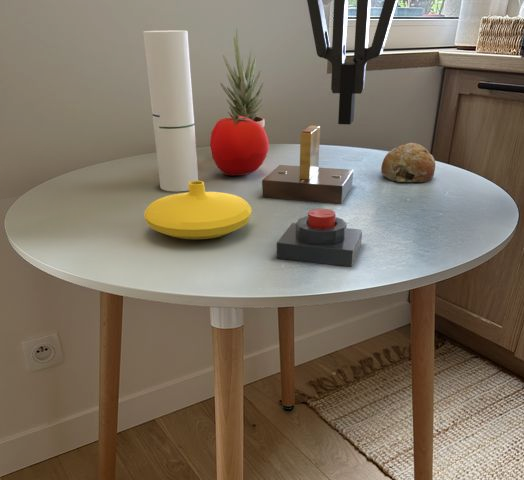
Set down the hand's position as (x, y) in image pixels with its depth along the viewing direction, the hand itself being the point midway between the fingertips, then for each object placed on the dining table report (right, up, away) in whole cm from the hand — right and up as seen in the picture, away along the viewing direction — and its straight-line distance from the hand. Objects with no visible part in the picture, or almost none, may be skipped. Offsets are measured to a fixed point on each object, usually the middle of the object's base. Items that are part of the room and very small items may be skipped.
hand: (346, 122), depth 67 cm
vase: (-20, -11, +14) cm, 26 cm away
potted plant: (-15, +16, +56) cm, 60 cm away
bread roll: (+18, +5, +38) cm, 42 cm away
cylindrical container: (-26, +2, +34) cm, 43 cm away
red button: (-3, -12, +4) cm, 13 cm away
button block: (-3, -15, +6) cm, 16 cm away
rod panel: (-2, 0, +30) cm, 30 cm away
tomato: (-15, +7, +41) cm, 44 cm away
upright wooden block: (-2, +3, +28) cm, 29 cm away
